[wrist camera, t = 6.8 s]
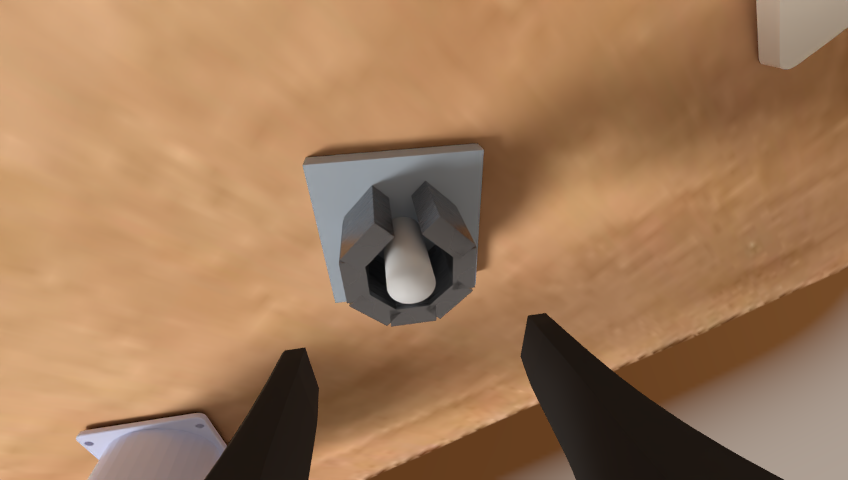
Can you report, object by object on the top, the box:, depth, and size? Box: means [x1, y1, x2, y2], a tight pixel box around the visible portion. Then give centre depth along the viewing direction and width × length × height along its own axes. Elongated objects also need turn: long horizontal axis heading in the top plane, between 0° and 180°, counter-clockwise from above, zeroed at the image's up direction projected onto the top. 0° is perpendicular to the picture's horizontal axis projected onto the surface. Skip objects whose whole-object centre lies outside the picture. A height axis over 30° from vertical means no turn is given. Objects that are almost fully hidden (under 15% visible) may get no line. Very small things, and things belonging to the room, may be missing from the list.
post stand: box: [303, 143, 484, 304], centre depth 16 cm, size 8×8×5 cm
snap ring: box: [339, 180, 477, 326], centre depth 16 cm, size 6×6×4 cm
